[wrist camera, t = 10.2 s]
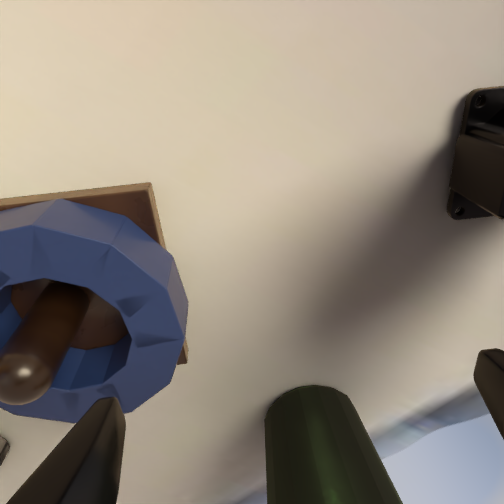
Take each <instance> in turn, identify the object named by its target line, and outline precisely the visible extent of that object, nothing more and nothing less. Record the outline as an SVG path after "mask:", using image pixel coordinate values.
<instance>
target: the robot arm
mask: <svg viewBox="0 0 504 504" xmlns="http://www.w3.org/2000/svg"><path fill="white" fill-rule="evenodd" d="M479 96H481V101H480V103H479V104H478V105H476V99H477V98H478V97H479ZM449 186H450V188H451V189H450V195H449V200H448V206H447V213H448V215H449V216H450V217H452V218H453V219H455V220H462V219H471V218H479V217H488V216H496V217H498V218H499V219H504V86H498V87H488V88H479V89H475V90H473V91H472V92H470V93H469V95H468V96H467V98H466V101H465V107H464V112H463V118H462V124H461V130H460V136H459V138H458V139H457V142H456V148H455V154H454V160H453V166H452V172H451V178H450V184H449ZM459 207H461V208H460V210H459V211H458V212H456V209H458V208H459ZM455 212H456V213H455ZM474 381H475V384H476V386H477V388H478V390H479V392H480V394H481V396H482V398H483V400H484V402H485V404H486V406H487V408H488V410H489V412H490V414H491V416H492V418H493V420H494V422H495V423H496V426H497V428H498V430H499V432H500V434H501V435H502V437H503V439H504V351H503V350H500V349H497V348H494V349H486V350H481V351H480V352H479V354H478V358H477V362H476V365H475V369H474ZM125 430H126V421H125V417H124V414H123V412H122V409H121V407H120V404H119V401H118V399H117V398H116V397H105V398H100V399H98V400H97V401H96V402H95V403H94V404H93V405H92V406H91V407H90V408H89V410H88V411H87V412H86V413H85V414H84V415H83V416H82V418H81V419H80V420H79V421H78V422H77V423H76V424H75V426H74V427H73V428H72V429H71V430H70V431H69V432H68V434H67V435H66V436H65V437H64V438H63V439H62V440H61V442H60V443H59V444H58V445H57V446H56V447H55V448H54V450H53V451H52V452H51V453H50V454H49V455H48V456H47V458H46V459H45V460H44V461H43V462H42V463H41V464H40V466H39V467H38V468H37V469H36V470H35V471H34V472H33V474H32V475H31V476H30V477H29V478H28V479H27V480H26V482H25V483H24V484H23V485H22V486H21V487H20V488H19V490H18V491H17V492H16V493H15V494H14V495H13V496H12V498H11V499H10V500H9V501H8V502H7V503H6V504H116V501H117V496H118V490H119V483H120V474H121V465H122V457H123V448H124V439H125Z"/></svg>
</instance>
